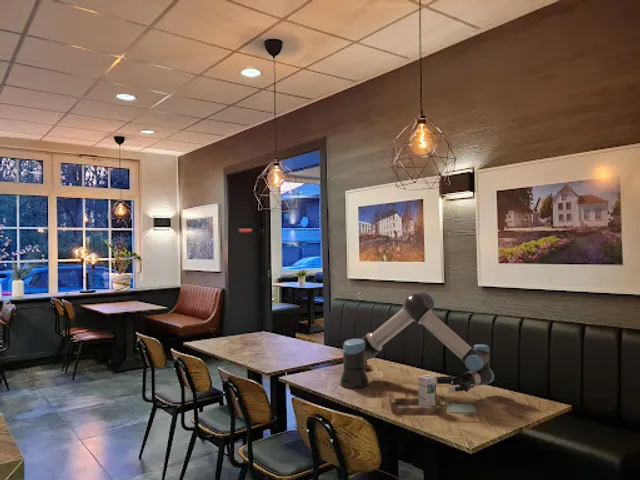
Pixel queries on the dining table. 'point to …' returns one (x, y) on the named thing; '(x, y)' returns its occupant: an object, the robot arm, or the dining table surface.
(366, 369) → the cup and saucer
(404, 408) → the walnut lane
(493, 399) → the dining table surface
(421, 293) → the robot arm
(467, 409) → the pad
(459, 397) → the dining table surface
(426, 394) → the syrup box
